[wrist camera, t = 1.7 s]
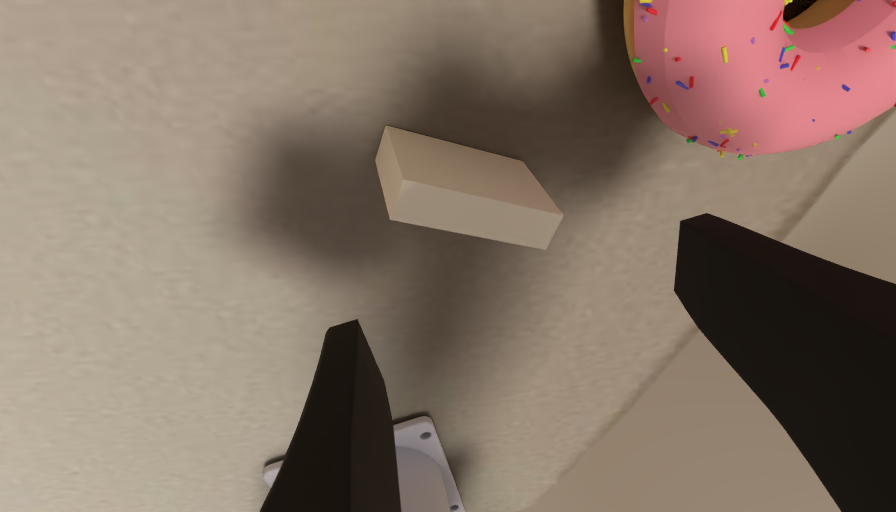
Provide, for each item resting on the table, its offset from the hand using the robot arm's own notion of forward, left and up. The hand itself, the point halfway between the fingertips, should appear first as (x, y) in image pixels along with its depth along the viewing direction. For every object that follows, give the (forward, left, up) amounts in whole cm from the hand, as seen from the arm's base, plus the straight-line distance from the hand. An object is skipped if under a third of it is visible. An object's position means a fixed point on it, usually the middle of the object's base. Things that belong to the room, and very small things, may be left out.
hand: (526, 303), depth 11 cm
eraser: (0, 0, -8) cm, 8 cm away
